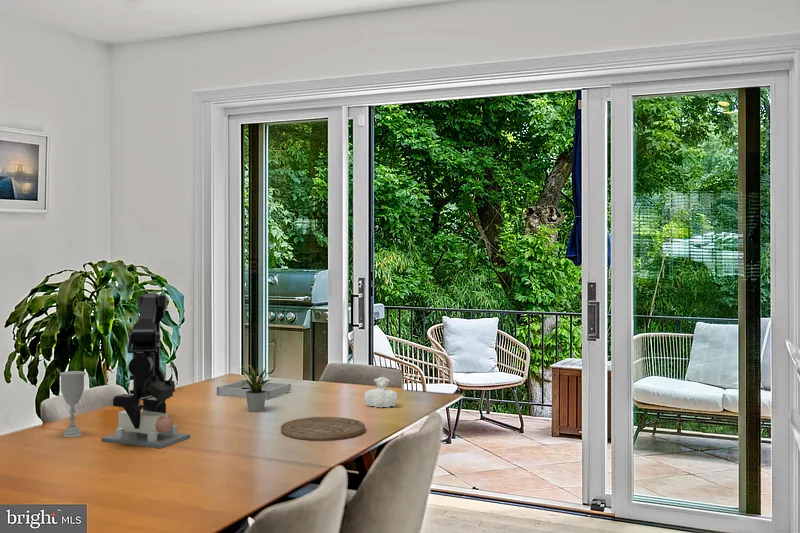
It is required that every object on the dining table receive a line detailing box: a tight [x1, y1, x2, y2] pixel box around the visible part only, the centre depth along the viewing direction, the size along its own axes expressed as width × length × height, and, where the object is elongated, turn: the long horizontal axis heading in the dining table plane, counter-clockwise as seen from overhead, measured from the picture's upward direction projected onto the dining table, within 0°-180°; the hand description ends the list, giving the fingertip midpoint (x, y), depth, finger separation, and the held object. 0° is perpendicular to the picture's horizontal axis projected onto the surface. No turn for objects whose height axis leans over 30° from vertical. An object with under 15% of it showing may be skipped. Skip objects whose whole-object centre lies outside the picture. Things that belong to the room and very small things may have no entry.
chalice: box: [58, 370, 87, 438], centre depth 214 cm, size 7×7×18 cm
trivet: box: [280, 416, 366, 442], centre depth 222 cm, size 25×25×2 cm
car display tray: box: [216, 380, 292, 400], centre depth 282 cm, size 22×17×3 cm
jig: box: [101, 424, 191, 449], centre depth 209 cm, size 20×13×4 cm, turn 69°
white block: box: [117, 409, 174, 434], centre depth 209 cm, size 16×5×5 cm, turn 63°
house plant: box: [238, 363, 277, 413], centre depth 251 cm, size 14×14×16 cm
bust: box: [363, 376, 399, 408], centre depth 260 cm, size 12×8×11 cm
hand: (143, 426), depth 210 cm, fingers closed on white block, 5 cm apart
